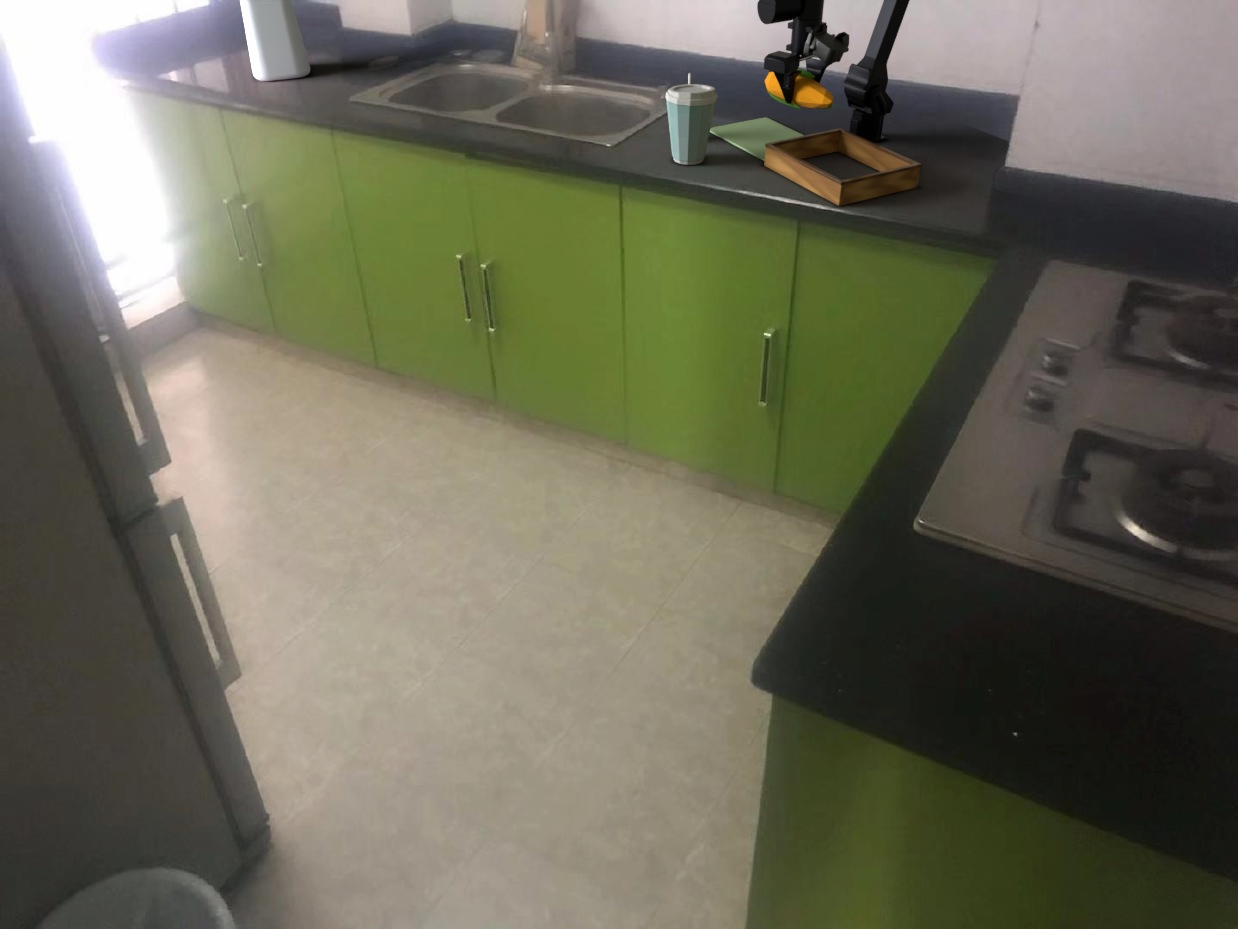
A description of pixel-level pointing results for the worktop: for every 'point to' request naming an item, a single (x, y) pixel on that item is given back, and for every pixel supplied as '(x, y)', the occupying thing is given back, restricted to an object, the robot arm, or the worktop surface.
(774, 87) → the corn
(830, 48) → the robot arm
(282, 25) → the plastic bottle
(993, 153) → the worktop surface
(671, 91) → the disposable coffee cup
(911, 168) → the wooden tray
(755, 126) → the mat
